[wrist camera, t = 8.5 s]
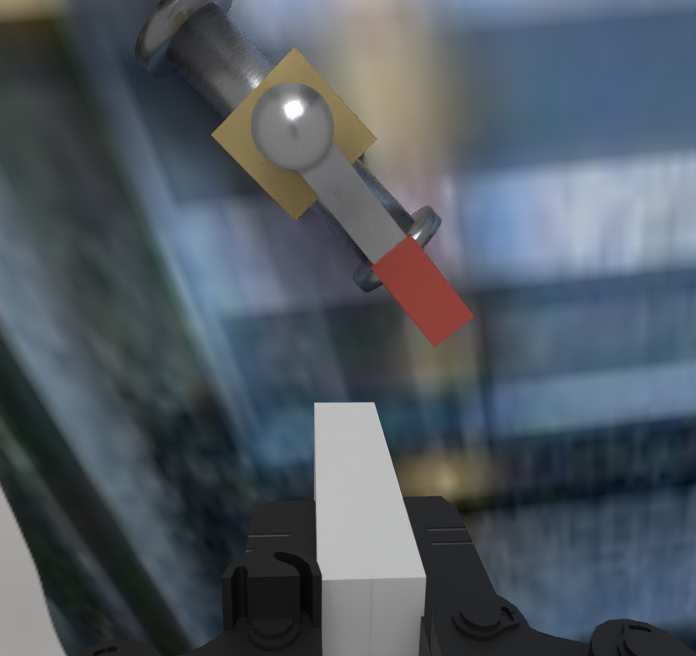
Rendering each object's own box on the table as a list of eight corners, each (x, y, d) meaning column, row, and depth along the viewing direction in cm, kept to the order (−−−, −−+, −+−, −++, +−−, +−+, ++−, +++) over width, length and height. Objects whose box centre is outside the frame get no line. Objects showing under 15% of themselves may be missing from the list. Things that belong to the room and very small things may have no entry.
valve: (154, 73, 34) (103, 33, 26) (227, -6, 33) (200, -74, 25) (359, 283, 38) (373, 308, 29) (428, 215, 37) (464, 222, 29)
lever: (240, 126, 27) (233, 119, 24) (298, 76, 26) (297, 63, 24) (415, 342, 30) (425, 355, 27) (469, 299, 29) (484, 308, 27)
